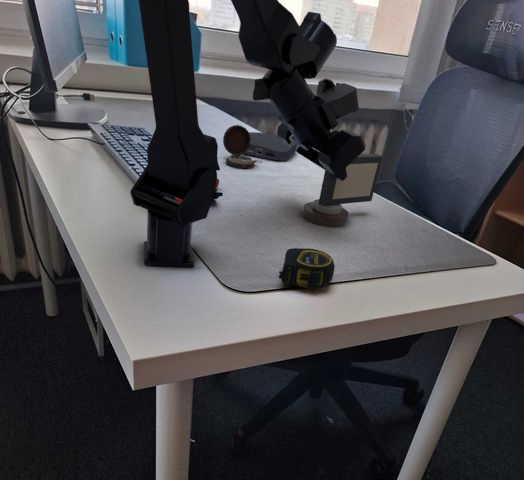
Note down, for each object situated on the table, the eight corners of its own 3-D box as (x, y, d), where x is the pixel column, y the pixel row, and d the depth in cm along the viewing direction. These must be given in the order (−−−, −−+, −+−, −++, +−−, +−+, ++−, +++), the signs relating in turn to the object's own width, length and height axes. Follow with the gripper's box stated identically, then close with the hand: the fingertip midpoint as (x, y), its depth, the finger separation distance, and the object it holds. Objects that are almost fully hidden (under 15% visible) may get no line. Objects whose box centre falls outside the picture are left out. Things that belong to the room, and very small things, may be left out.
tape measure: (283, 266, 71) (287, 241, 69) (331, 276, 71) (337, 251, 69) (276, 288, 66) (280, 261, 64) (328, 299, 65) (335, 272, 63)
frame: (324, 215, 87) (336, 161, 82) (306, 205, 90) (317, 152, 85) (376, 210, 93) (390, 159, 88) (357, 200, 96) (370, 151, 91)
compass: (230, 168, 108) (234, 132, 104) (220, 157, 114) (224, 122, 110) (265, 170, 110) (270, 134, 106) (254, 159, 116) (259, 125, 112)
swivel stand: (353, 228, 88) (355, 219, 87) (309, 225, 86) (310, 216, 85) (338, 211, 95) (340, 203, 94) (297, 208, 93) (299, 200, 92)
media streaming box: (298, 151, 129) (300, 139, 127) (284, 164, 117) (286, 150, 115) (243, 139, 131) (245, 127, 129) (224, 150, 119) (225, 137, 117)
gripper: (371, 74, 69) (410, 158, 80) (305, 53, 82) (346, 128, 93) (310, 134, 70) (357, 209, 81) (254, 103, 83) (301, 171, 94)
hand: (340, 176), depth 87 cm, fingers closed on frame, 2 cm apart
